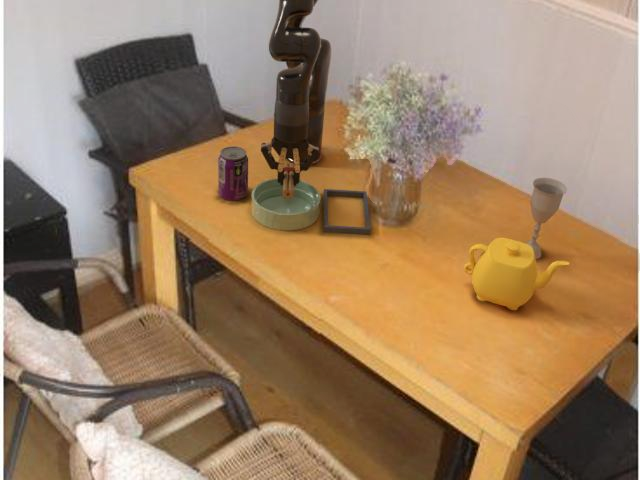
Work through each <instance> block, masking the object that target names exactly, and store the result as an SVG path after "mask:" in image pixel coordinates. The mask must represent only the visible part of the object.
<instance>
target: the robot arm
mask: <svg viewBox="0 0 640 480" xmlns="http://www.w3.org/2000/svg"><path fill="white" fill-rule="evenodd" d="M318 2H319V0H279V1H278V10H277V15H276V19H275V22H274V25H273V29H272V31H271V34H270V37H269V41H268V51H269V54H270V56H271V58H272V59H273V60H274V61H275V62H283V63H285V65H286V67H287V68H285V69H282V70H280V71H279V72H278V74H277V76H276V87H275V88H276V90H275V102H274V110H273V111H274V113H273V137H272V138H271V141H269V142H267V143H266V142H262V143H261V145H260V152H261V154H262V156H263V158H264V159H265V161H266V163H267V166H268V167H269V169H270V170H275V171H277V178H278V183H280V185H283V180H284V164H285V163H286V160H287V161H289V163H293V164H294V186H296V184H299V182H300V180H301V179H300V178H301V172H303V171H304V172H307V171H308V170H309V169H310V167H311V166H313V165H316V164H318V163H319V162H321V159H322V145H323V134H324V133H323V132H324V122H325V110H326V96H327V90H328V83H329V73H330V67H331V60H332V45H331V42H330V41H329V40H328V39H325V38H321V35H320V34H319V32H318V31H317V30H316V29H315V28H312V27H303V23H304V22H305V20H306V18H307V17H308V16H310V15H311V14H312V13H313V11H314V7H315V6H316V4H317V3H318ZM272 149H273V150H274V151H275V153H276V154H277V155H278V156H279V157H278V161H276V159H275V157H274V155H273V154H272Z"/></svg>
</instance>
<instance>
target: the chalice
mask: <svg viewBox="0 0 640 480" xmlns="http://www.w3.org/2000/svg"><path fill="white" fill-rule="evenodd" d="M532 184H533V190H532V193H531V197H530V201H529V202H530V211H531V214H532V219H533V220H534V221H535V222H536V223H535V226H534V227H533V230H534V231H533V232H532V233H531V237H532V238H531V240H527V241H525V242H524V243H525V244H528V245H529V246H531V247H532V249H533V251H534V254H535V259H536V260H537V259H540V258H541V257H542V249H541V246H540V244H539V242H537V239H539V238H540V234H539V233H540V231H542V228H541V226H542V224H545V223H547V222H549V220H550V219H551V218H553V216H554V215H556V213H557V212H558V211H559V209H560V206H561V202H562V200H563V197H564V195H566V193H567V191H568V187H567V186H566V184H564V183H563V182H561V181H559V180H557V179H554V178H550V177H538V178H536V179H534V180H533V181H532Z"/></svg>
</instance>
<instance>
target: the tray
mask: <svg viewBox="0 0 640 480" xmlns="http://www.w3.org/2000/svg"><path fill="white" fill-rule="evenodd" d="M328 197H341V198H342V197H343V198H360V199H362V204H363V214H364V225H365V226H364V227H363V226H347V225H329V211H328V209H329V208H328V207H329V206H328ZM323 233H331V234H347V235H348V234H349V235H350V234H351V235H366V236H370V235H371V221H370V211H369V203H368V193H367V191H364V190H347V189H332V188H329V189H328V188H324V189H323Z"/></svg>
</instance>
